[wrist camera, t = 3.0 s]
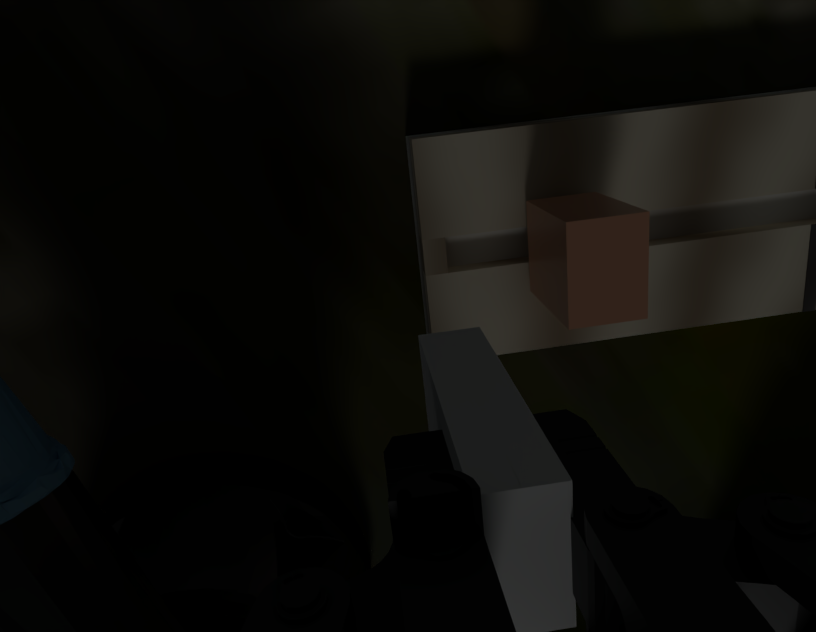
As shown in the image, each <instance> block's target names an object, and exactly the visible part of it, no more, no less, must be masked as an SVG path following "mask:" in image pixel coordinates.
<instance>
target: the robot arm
mask: <svg viewBox="0 0 816 632" xmlns="http://www.w3.org/2000/svg"><path fill="white" fill-rule="evenodd" d="M418 337H419V346H420V355H421V364H422V373H423V382H424V391H425V400H426V409H427V418H428V427H429V432H422V433H415V434H408V435H401V436H395V437H392V438H391V440H390V442H389V444H388V445H387V447H386V449H385V451H384V459H385V467H386V476H387V484H388V492H389V499H388V506H389V513H390V520H391V527H392V534H393V544H392V546H391V548H390V551H389V552H388V554H387V555H386V556H385V557H384V559H383V560H382V561H381V562H380V563H378V564H377V565H376V566H375V567H373V568H372V569H371V563H370V556H369V551H368V547H367V544H366V541H365V538H364V536H363V533H362V531H361V529H360V527H359V525H358V524H357V522H356V520H355V519H354V517H353V516H352V515H351V513H350V512H349V511H348V509H347V508H346V507H345V506H344V505H343V504H342V503H341V502H340V501H339V500H338V499H337V498H336V497H335V496H334V495H333V494H332V493H330V492H329V491H328V490H327V489H325V488H324V487H322V486H321V485H320V484H318V483H316V482H315V481H313V480H311V479H310V478H308V477H306V476H304V475H302V474H300V473H298V472H295V471H293V470H290V469H288V468H285V467H282V466H279V465H275V464H271V463H267V462H262V461H257V460H250V459H239V458H218V459H207V460H200V461H194V462H189V463H185V464H181V465H178V466H175V467H172V468H169V469H166V470H164V471H161V472H159V473H157V474H155V475H153V476H151V477H149V478H147V479H145V480H143V481H142V482H140V483H138V484H137V485H135V486H134V487H133V488H131V489H130V490H129V491H127V492H126V493H125V494H124V495H122V496H121V497H120V498H119V499H118V500H117V501H116V502H115V503H114V504H113V505H112V506H111V508H110V509H109V510H108V511H107V513H106V514H105V515H104V514H103V513H102V511H101V510H100V508H99V507H98V505H97V504H96V503H95V501H94V500H93V498H92V497H91V495H90V494H89V493H88V491H87V490H86V488H85V487H84V485H83V484H82V483H81V481H80V480H79V478H78V477H77V475H76V474H75V473H74V471H73V470H72V468H73V466H74V464H75V461H74V458H73V456H72V455H71V453H70V452H69V451H68V449H67V447H66V445H63V444H60V443H59V442H58V441H57V440H56V439H54V438H52V437H51V436H48V435H47V434H46V433H45V432H44V431H43V429H42V428H41V427H40V426H39V424H38V423H37V422H36V421H35V419H34V418H33V417H32V416H31V414H30V413H29V412H28V410H27V409H26V408H25V407H24V405H23V404H22V403H21V402H20V400H19V399H18V398H17V397H16V395H15V394H14V393H13V392H12V390H11V389H10V388H9V387H8V385H7V384H6V383H5V382H4V380H3V379H2V378H1V377H0V632H548V631H553V630H559V629H565V628H571V627H576V601H577V604H578V606H579V608H580V610H581V612H582V614H583V616H584V619H585V621H586V632H816V502H814V501H811V500H809V499H807V498H803V497H799V496H795V495H791V494H787V493H771V492H766V493H761V494H755V495H751V496H749V497H747V498H746V499H744V500H743V501H741V502H740V504H739V506H738V509H737V511H736V521H733V520H717V519H702V518H693V517H686V516H682V515H681V514H680V513H679V512H678V510H677V509H676V508H675V507H674V505H673V504H671V503H670V502H669V501H668V500H667V499H665V498H664V497H663V496H662V495H659V494H657V493H655V492H653V491H650V490H648V489H645V488H639V487H636V486H635V485H634V484H633V482H632V481H631V480H630V478H629V477H628V476H627V474H626V473H625V472H624V470H623V469H622V468H621V466H620V465H619V464H618V462H617V461H616V460H615V458H614V457H613V456H612V454H611V453H610V452H609V451H608V449H606V448H605V445H604V444H603V443H602V441H601V440H600V439H599V437H597V436H596V433H595V432H594V431H593V429H592V428H591V427H590V425H589V424H588V423H587V421H586V420H584V419H582V418H581V417H579V416H577V415H575V414H574V413H572V412H570V411H568V410H566V409H565V410H558V411H552V412H545V413H538V414H532V413H531V411H530V409H529V408H528V406H527V405H526V403H525V401H524V400H523V398H522V396H521V395H520V393H519V391H518V390H517V388H516V386H515V385H514V383H513V381H512V380H511V378H510V376H509V375H508V373H507V371H506V370H505V368H504V366H503V365H502V363H501V361H500V360H499V358H498V356H497V355H496V353H495V352H494V350H493V348H492V347H491V345H490V343H489V342H488V340H487V338H486V337H485V335H484V333H483V332H482V330H481V328H480V327H474V328H467V329H460V330H452V331H445V332H438V333H431V334H424V335H418Z"/></svg>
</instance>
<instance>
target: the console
mask: <svg viewBox="0 0 816 632" xmlns="http://www.w3.org/2000/svg"><path fill="white" fill-rule="evenodd" d="M406 145H407V155H408V164H409V173H410V183H411V192H412V201H413V211H414V220H415V230H416V239H417V248H418V258H419V267H420V276H421V286H422V295H423V304H424V314H425V323H426V333H427V334H431V333H438V332H445V331H452V330H460V329H467V328H474V327H480V328H481V330H482V332H483V333H484V335H485V337H486V338H487V340H488V342H489V343H490V345H491V347H492V348H493V350H494V352H495V353H496V355H501V354H508V353H515V352H522V351H529V350H536V349H543V348H550V347H557V346H564V345H571V344H578V343H585V342H592V341H599V340H606V339H613V338H620V337H627V336H634V335H641V334H648V333H655V332H662V331H669V330H676V329H683V328H690V327H697V326H704V325H711V324H718V323H725V322H732V321H739V320H746V319H753V318H760V317H767V316H774V315H781V314H788V313H795V312H806V311H813V310H816V87H808V88H800V89H792V90H783V91H775V92H767V93H759V94H750V95H742V96H734V97H725V98H717V99H709V100H700V101H692V102H684V103H675V104H667V105H659V106H651V107H642V108H634V109H626V110H617V111H609V112H601V113H592V114H584V115H576V116H568V117H559V118H551V119H543V120H534V121H526V122H518V123H509V124H501V125H493V126H485V127H476V128H468V129H460V130H451V131H443V132H435V133H426V134H418V135H410V136H406ZM590 192H597V193H600V194H603V195H606V196H608V197H611V198H614V199H617V200H619V201H622V202H625V203H628V204H630V205H633V206H636V207H639V208H641V209H644V210H647V211H650V217H649V275H648V319H642V320H634V321H627V322H620V323H613V324H606V325H599V326H592V327H585V328H578V329H571V330H569V329H568V328H567V327H566V326H565V325H564V324H563V323H562V322H561V321H560V320H559V319H558V318H557V317H556V316H555V315H554V314H553V313H552V312H551V311H550V310H549V309H548V308H547V307H546V306H545V305H544V304H543V303H542V302H541V301H540V300H539V299H538V298H537V297H536V296H535V295H534V294H533V293H532V292H531V291H530V274H529V252H528V231H527V210H526V201H527V200H535V199H543V198H551V197H558V196H566V195H574V194H582V193H590Z"/></svg>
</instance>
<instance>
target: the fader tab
mask: <svg viewBox="0 0 816 632" xmlns="http://www.w3.org/2000/svg"><path fill="white" fill-rule="evenodd" d="M526 210H527V231H528V252H529V274H530V291H531V292H532V293H533V294H534V295H535V296H536V297H537V298H538V299H539V300H540V301H541V302H542V303H543V304H544V305H545V306H546V307H547V308H548V309H549V310H550V311H551V312H552V313H553V314H554V315H555V316H556V317H557V318H558V319H559V320H560V321H561V322H562V323H563V324H564V325H565V326H566V327H567V328H568V329H569V330H571V329H578V328H585V327H592V326H599V325H606V324H613V323H620V322H627V321H634V320H642V319H648V275H649V217H650V211H647V210H644V209H641V208H639V207H636V206H633V205H630V204H628V203H625V202H622V201H619V200H617V199H614V198H611V197H608V196H606V195H603V194H600V193H597V192H590V193H582V194H574V195H566V196H558V197H551V198H543V199H535V200H527V201H526Z"/></svg>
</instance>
